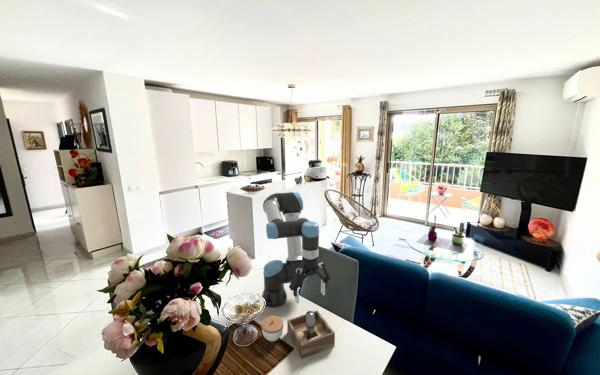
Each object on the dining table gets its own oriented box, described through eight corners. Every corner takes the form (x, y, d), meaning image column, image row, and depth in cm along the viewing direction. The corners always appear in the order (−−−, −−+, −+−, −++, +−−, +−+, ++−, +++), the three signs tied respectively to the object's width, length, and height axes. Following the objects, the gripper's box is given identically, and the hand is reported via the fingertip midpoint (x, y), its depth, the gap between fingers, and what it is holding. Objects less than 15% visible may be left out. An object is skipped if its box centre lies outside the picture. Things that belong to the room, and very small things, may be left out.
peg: (304, 337, 122) (304, 312, 119) (312, 334, 124) (312, 309, 121) (308, 343, 119) (308, 317, 116) (315, 340, 120) (316, 315, 117)
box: (287, 332, 125) (287, 320, 124) (317, 321, 132) (317, 310, 131) (301, 359, 110) (301, 345, 109) (334, 345, 117) (334, 333, 116)
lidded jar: (280, 347, 116) (280, 330, 115) (258, 343, 119) (257, 326, 117) (286, 330, 127) (285, 314, 125) (266, 327, 129) (265, 311, 127)
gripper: (287, 266, 104) (288, 310, 108) (338, 253, 114) (337, 295, 118) (281, 258, 110) (282, 300, 115) (329, 247, 120) (328, 286, 125)
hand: (310, 297), depth 117 cm, fingers open, 13 cm apart
